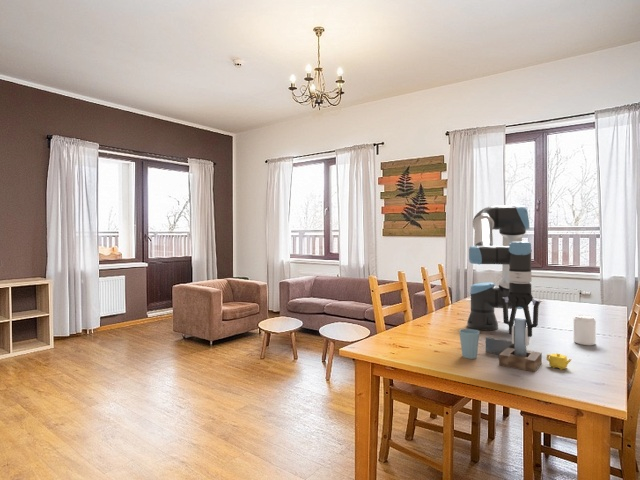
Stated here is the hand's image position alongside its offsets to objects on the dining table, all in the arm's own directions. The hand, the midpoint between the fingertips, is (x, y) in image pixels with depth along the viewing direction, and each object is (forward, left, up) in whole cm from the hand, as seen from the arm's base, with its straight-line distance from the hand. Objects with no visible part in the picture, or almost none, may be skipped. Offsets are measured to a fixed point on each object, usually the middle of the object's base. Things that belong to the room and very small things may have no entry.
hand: (520, 343), depth 149 cm
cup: (-18, -3, -8) cm, 20 cm away
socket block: (0, 0, -8) cm, 8 cm away
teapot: (+12, +5, -8) cm, 15 cm away
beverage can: (+15, +47, -8) cm, 50 cm away
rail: (-8, +8, -8) cm, 14 cm away
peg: (0, 0, -5) cm, 5 cm away
